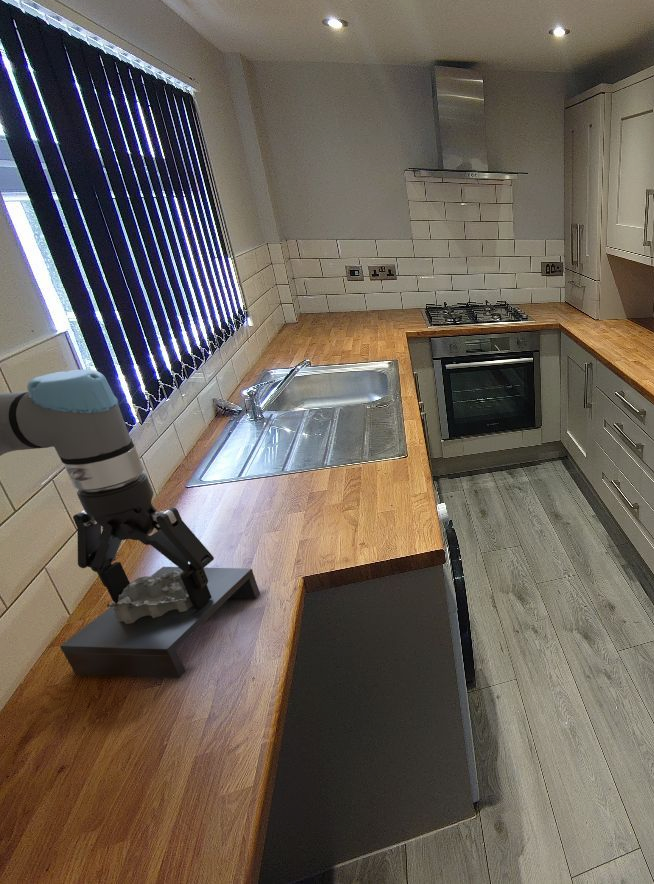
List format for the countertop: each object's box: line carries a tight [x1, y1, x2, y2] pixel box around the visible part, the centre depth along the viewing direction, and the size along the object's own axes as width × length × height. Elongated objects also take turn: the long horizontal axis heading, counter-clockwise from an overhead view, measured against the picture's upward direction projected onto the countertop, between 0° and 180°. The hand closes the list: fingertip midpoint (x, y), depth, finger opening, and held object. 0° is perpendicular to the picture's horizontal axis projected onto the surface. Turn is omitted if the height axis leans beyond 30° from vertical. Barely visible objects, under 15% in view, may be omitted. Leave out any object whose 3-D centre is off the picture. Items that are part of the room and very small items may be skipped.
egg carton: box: [106, 570, 193, 624], centre depth 81 cm, size 11×8×4 cm
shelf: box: [59, 566, 261, 679], centre depth 83 cm, size 16×18×6 cm
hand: (164, 602), depth 82 cm, fingers closed on egg carton, 12 cm apart
